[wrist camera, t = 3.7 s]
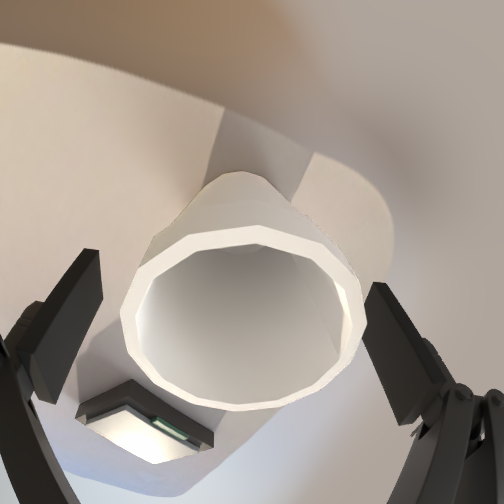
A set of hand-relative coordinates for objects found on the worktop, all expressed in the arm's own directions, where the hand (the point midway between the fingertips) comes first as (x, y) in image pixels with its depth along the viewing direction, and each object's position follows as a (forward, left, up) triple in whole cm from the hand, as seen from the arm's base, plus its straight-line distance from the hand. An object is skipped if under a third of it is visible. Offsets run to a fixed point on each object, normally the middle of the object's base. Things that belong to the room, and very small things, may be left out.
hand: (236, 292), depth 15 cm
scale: (-15, +26, -10) cm, 32 cm away
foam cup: (0, 0, -10) cm, 10 cm away
